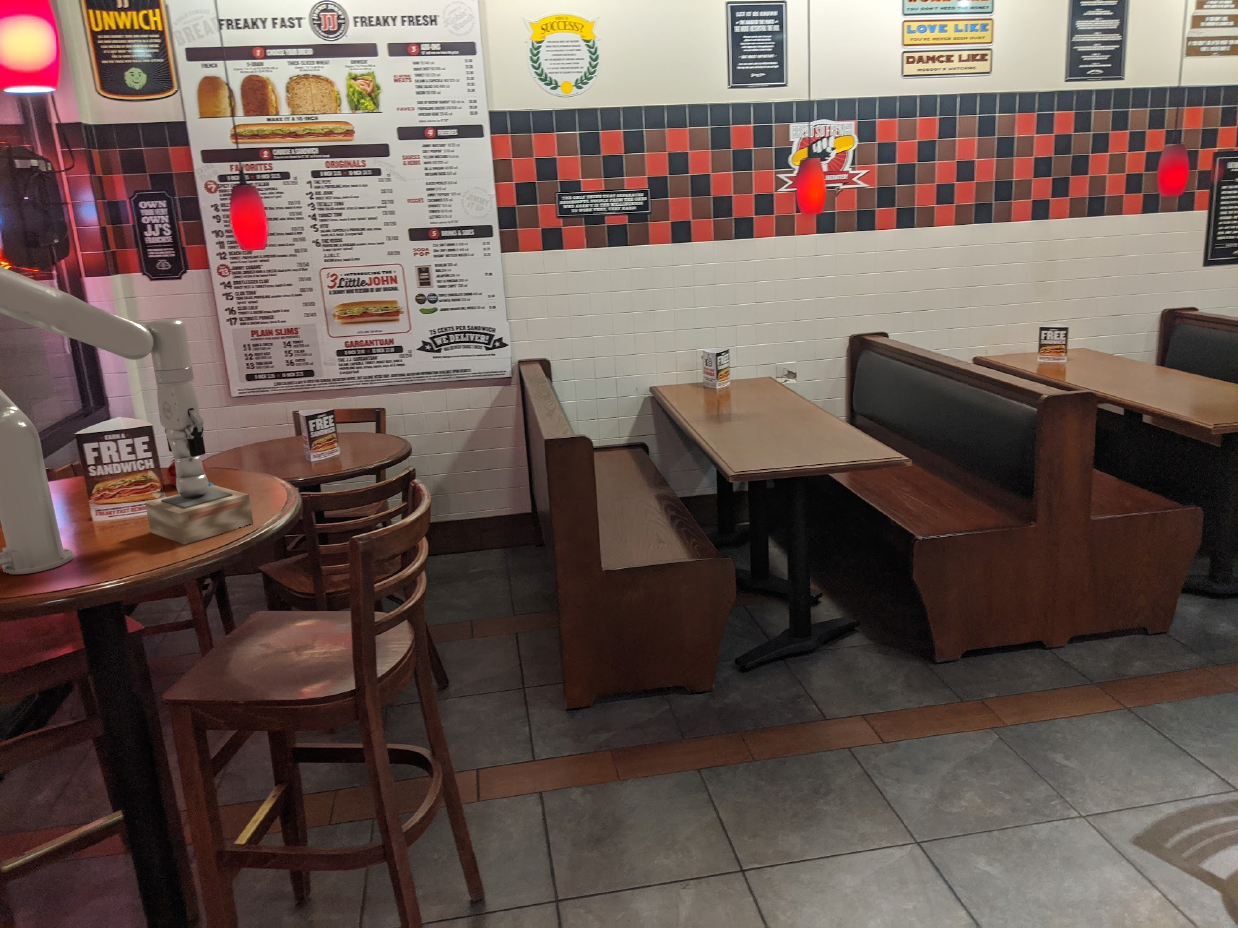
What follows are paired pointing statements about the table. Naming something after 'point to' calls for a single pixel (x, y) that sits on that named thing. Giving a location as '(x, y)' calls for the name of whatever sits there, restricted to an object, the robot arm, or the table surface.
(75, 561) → the table surface
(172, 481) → the pomegranate
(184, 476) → the plastic bottle
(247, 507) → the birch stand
